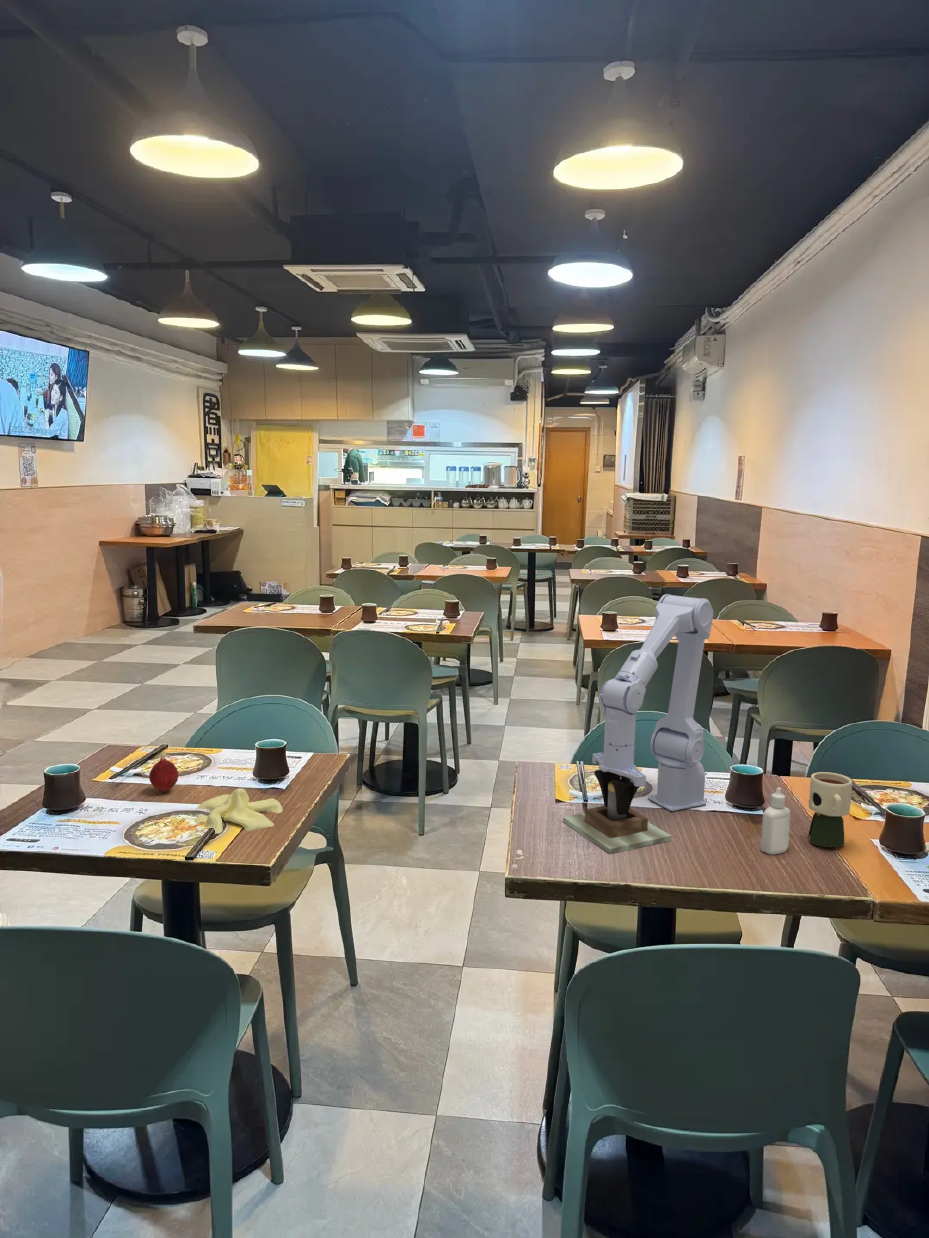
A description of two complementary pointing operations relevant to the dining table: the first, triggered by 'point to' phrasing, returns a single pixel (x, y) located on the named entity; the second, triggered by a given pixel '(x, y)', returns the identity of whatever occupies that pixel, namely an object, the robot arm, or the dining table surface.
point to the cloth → (238, 811)
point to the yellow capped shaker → (613, 805)
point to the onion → (163, 775)
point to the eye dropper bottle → (775, 825)
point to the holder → (616, 830)
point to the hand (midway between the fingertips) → (616, 809)
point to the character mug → (829, 808)
